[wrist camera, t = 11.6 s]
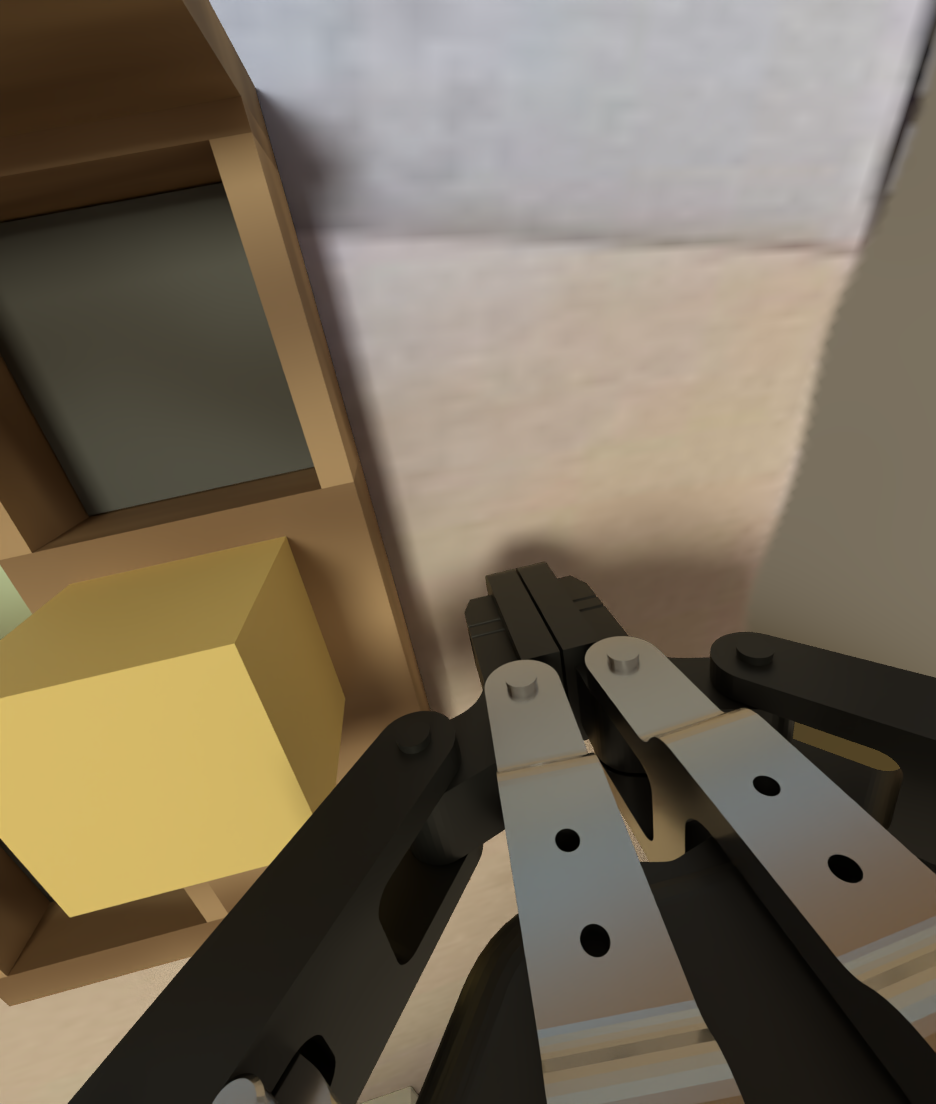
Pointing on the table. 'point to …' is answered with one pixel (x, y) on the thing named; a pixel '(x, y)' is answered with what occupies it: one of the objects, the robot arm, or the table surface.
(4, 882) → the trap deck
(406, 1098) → the external hard drive
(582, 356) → the table surface
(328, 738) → the block
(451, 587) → the table surface
